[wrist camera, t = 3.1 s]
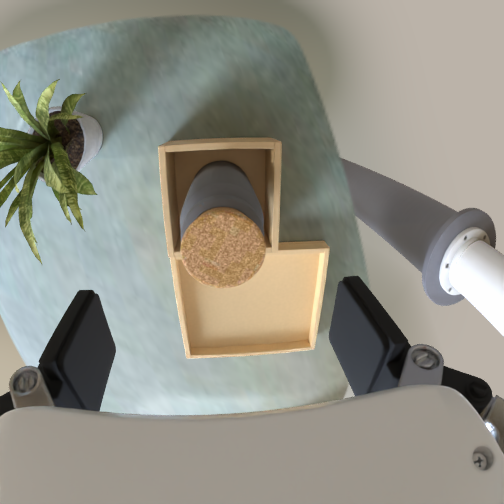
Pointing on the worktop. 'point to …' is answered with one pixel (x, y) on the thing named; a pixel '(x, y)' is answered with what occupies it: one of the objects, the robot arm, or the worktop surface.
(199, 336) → the tray
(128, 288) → the worktop surface
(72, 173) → the house plant
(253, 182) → the bin
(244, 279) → the bottle
